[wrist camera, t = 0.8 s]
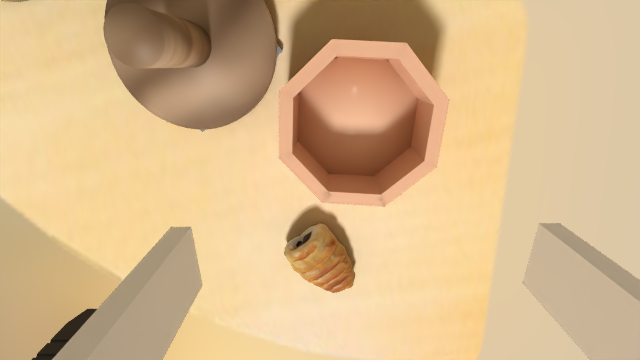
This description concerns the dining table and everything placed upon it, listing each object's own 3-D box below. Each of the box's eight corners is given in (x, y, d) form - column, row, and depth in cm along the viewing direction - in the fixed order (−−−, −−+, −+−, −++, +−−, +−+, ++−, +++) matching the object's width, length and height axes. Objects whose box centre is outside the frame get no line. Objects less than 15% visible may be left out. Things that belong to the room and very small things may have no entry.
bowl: (259, 113, 33) (245, 123, 27) (365, 10, 29) (373, -2, 24) (347, 206, 37) (350, 232, 31) (452, 124, 33) (477, 136, 27)
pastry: (367, 267, 40) (371, 287, 36) (326, 293, 41) (325, 314, 38) (321, 215, 37) (320, 231, 34) (279, 245, 39) (274, 263, 35)
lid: (80, 39, 30) (-33, 28, 21) (183, -99, 26) (100, -192, 17) (204, 156, 34) (156, 192, 25) (310, 51, 30) (302, 45, 21)
